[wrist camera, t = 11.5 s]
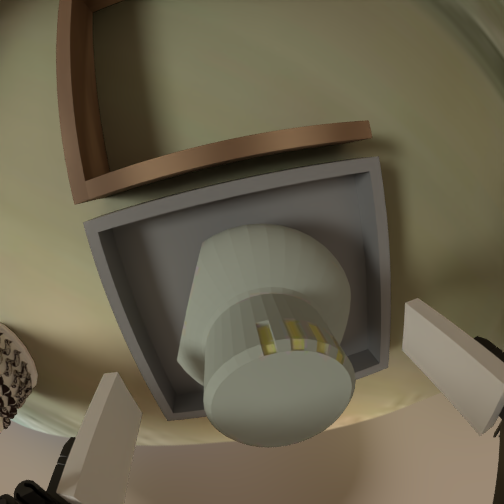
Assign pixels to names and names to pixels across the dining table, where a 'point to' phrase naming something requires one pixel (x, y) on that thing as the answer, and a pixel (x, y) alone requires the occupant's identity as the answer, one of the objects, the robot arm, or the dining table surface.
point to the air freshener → (268, 335)
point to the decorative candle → (14, 375)
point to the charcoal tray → (229, 216)
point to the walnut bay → (108, 183)
